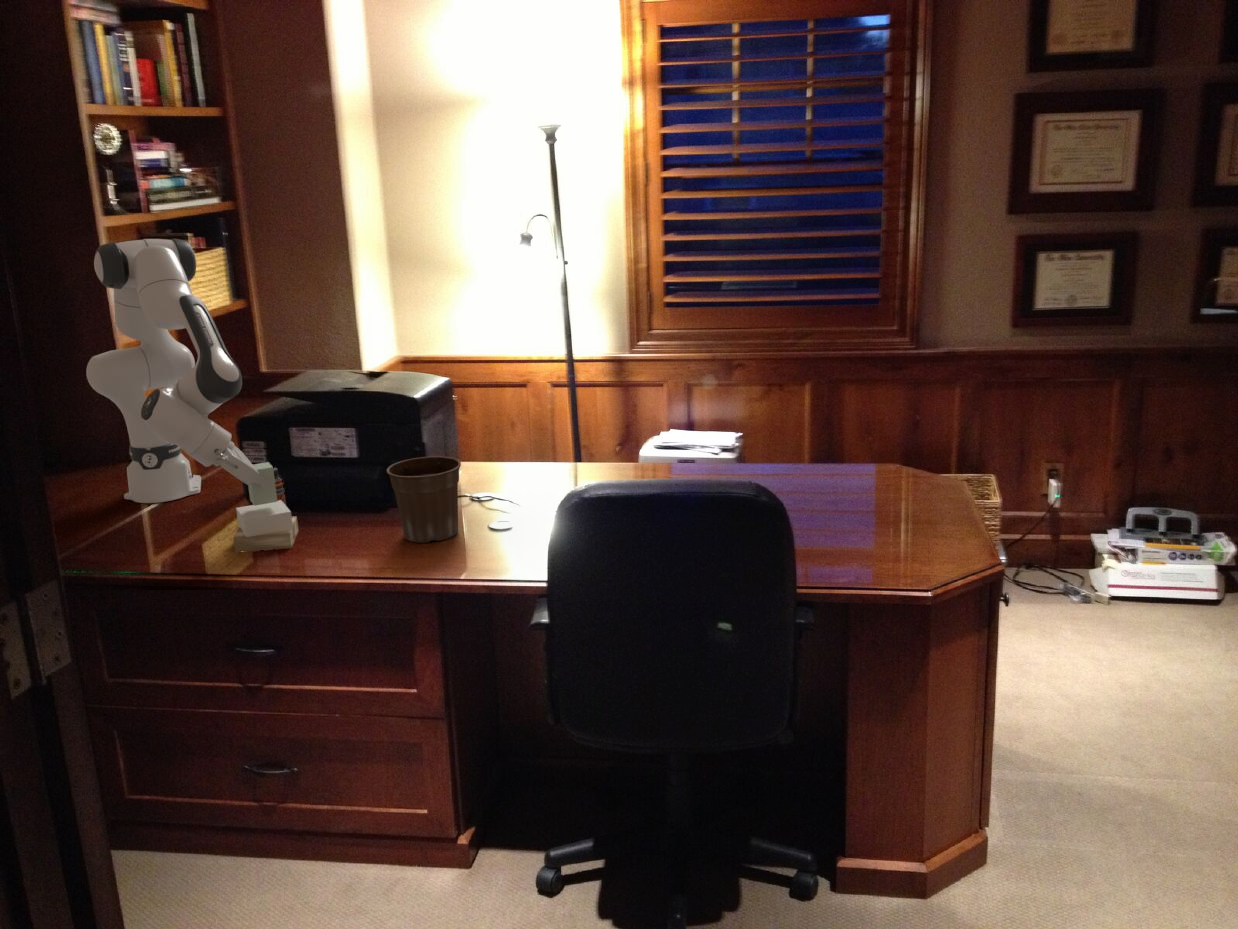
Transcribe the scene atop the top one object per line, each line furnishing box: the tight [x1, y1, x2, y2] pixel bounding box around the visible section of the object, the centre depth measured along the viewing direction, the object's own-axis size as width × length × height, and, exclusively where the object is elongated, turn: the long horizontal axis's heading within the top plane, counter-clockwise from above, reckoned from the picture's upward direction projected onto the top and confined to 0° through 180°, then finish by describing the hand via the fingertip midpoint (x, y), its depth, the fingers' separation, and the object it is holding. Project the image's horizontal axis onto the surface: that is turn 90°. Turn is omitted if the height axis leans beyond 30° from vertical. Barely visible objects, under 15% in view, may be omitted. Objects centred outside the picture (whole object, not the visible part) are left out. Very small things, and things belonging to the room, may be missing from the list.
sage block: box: [247, 461, 277, 506], centre depth 246 cm, size 5×5×8 cm
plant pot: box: [386, 455, 462, 544], centre depth 247 cm, size 16×16×16 cm
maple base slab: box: [233, 515, 300, 553], centre depth 249 cm, size 12×12×4 cm
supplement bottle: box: [273, 467, 287, 506], centre depth 267 cm, size 6×6×11 cm
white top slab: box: [235, 500, 293, 537], centre depth 248 cm, size 10×10×4 cm
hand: (264, 481), depth 246 cm, fingers closed on sage block, 5 cm apart
